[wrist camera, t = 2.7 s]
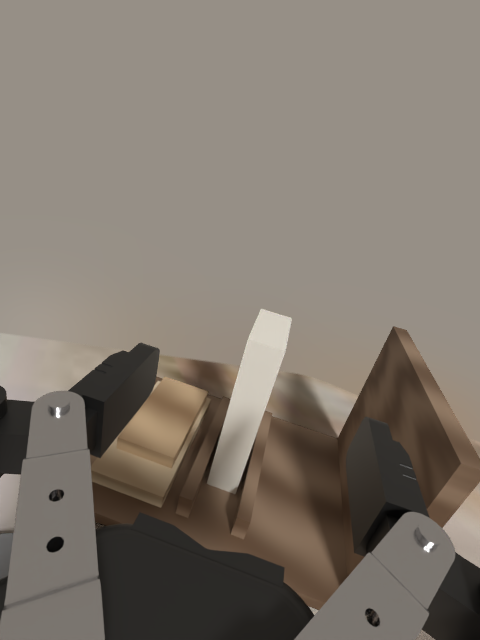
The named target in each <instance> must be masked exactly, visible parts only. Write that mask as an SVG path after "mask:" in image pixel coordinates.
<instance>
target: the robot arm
mask: <svg viewBox="0 0 480 640" xmlns="http://www.w3.org/2000/svg"><path fill="white" fill-rule="evenodd" d="M159 353H160V351H159V349H158V348H155V347H152V346H149V345H146V344H143V343H139V344H138V345H137V346H136V347H134V348H133V349H132V350H131V351H130V352H126V351H121V352H118V353H115V354H113V355H110V356H109V357H108V358H107V359H106V360H104V361H103V362H102V364H100V365H98V366H97V367H96V368H95V370H92V371H91V372H90V373H89V374H88V375H86V376H85V377H84V378H83V379H82V380H80V381H79V382H78V383H77V384H76V385H74V386H73V387H72V388H71V389H70V390H68V391H56V392H51V393H48V394H46V395H43V396H42V397H40V398H39V399H37V400H36V401H35V402H29V401H17V400H7V396H6V391H5V389H4V388H3V387H1V386H0V477H1V476H2V475H3V474H21V478H20V486H19V494H18V502H17V510H16V518H15V526H14V534H13V542H12V550H11V558H10V566H9V574H8V575H7V576H6V577H4V578H2V579H0V640H416V639H417V637H418V635H419V633H420V631H421V629H422V630H424V631H425V632H426V633H428V634H429V635H430V636H432V637H433V638H434V639H436V640H480V568H479V567H477V566H475V565H474V564H472V563H471V562H469V561H468V560H466V559H464V558H463V557H461V556H460V555H458V554H457V553H456V552H455V549H454V546H453V543H452V541H451V540H450V538H449V536H448V535H447V534H446V532H445V531H444V530H443V529H442V528H441V527H440V526H439V525H438V524H437V523H436V522H434V521H433V520H432V519H430V517H429V514H428V511H427V508H426V505H425V502H424V499H423V496H422V493H421V490H420V487H419V484H418V481H416V475H415V472H414V470H413V466H412V463H411V460H410V457H409V454H408V453H407V452H406V450H405V449H404V448H403V446H402V445H401V444H400V442H397V441H394V440H393V439H392V436H391V432H390V429H389V425H388V424H387V423H385V422H381V421H378V420H375V419H372V418H369V417H365V418H364V419H363V420H362V422H361V424H360V426H359V428H358V430H357V432H356V434H355V436H354V438H353V440H352V442H351V444H350V446H349V448H348V451H347V455H346V473H347V484H348V494H349V505H350V515H351V526H352V536H353V546H354V553H356V554H358V555H361V556H364V558H363V560H362V561H361V562H360V563H359V564H358V565H357V567H356V568H355V569H354V570H353V571H352V572H351V574H350V575H349V576H348V577H347V578H346V579H345V581H344V582H343V583H342V584H341V585H340V586H339V588H338V589H337V590H336V591H335V592H334V593H333V595H332V596H331V597H330V598H329V599H328V601H327V602H326V603H325V604H324V605H323V606H322V608H321V609H320V610H319V611H318V612H317V613H316V615H315V616H314V614H313V613H312V611H311V610H310V608H309V607H308V606H307V604H306V603H305V602H304V601H303V599H302V598H301V597H300V596H299V595H298V594H297V593H296V592H295V591H294V590H293V589H292V588H291V587H290V586H288V585H287V584H286V583H284V582H283V581H284V570H285V567H282V566H280V565H277V564H275V563H272V562H269V561H267V560H264V559H261V558H259V557H256V556H254V555H251V554H248V553H239V552H229V551H218V550H210V549H207V548H205V547H203V546H202V545H201V544H199V543H198V542H196V541H195V540H194V539H192V538H191V537H190V536H188V535H187V534H185V533H184V532H183V531H181V530H180V529H179V528H177V527H176V526H174V525H172V524H170V523H167V522H164V521H162V520H159V519H157V518H154V517H151V516H149V515H146V514H143V513H141V512H139V514H138V516H137V518H136V520H135V522H134V523H133V524H128V523H126V524H114V525H108V526H104V527H101V528H98V529H95V518H94V504H93V490H92V476H91V463H90V455H93V456H95V457H98V458H101V457H102V455H103V454H104V453H105V452H106V450H107V449H108V448H109V447H110V445H111V444H112V443H113V442H114V440H115V439H116V438H117V436H118V435H119V434H120V433H121V431H122V430H123V429H124V428H125V426H126V425H127V424H128V423H129V421H130V420H131V419H132V417H133V416H134V415H135V414H136V412H137V411H138V410H139V409H140V407H141V406H142V405H143V404H144V402H145V401H146V400H147V398H148V397H149V396H150V394H151V392H152V390H153V388H154V385H155V381H156V374H157V367H158V361H159Z"/></svg>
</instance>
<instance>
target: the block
mask: <svg viewBox="0 0 480 640" xmlns="http://www.w3.org/2000/svg"><path fill="white" fill-rule="evenodd" d="M291 320H292V318H289V317H286V316H283V315H280V314H276V313H273V312H269V311H267V310H264V309H261V311H260V313H259V315H258V317H257V320H256V322H255V324H254V327H253V329H252V331H251V334H250V336H249V338H248V341H247V345H246V348H245V351H244V355H243V359H242V362H241V365H240V369H239V372H238V376H237V379H236V383H235V386H234V390H233V393H232V397H231V400H230V404H229V407H228V411H227V414H226V418H225V421H224V425H223V428H222V432H221V435H220V439H219V442H218V446H217V449H216V453H215V456H214V460H213V463H212V467H211V470H210V474H209V477H208V481H207V484H209V485H211V486H214V487H217V488H220V489H222V490H225V491H228V492H230V493H233V494H236V491H237V488H238V486H239V483H240V480H241V477H242V474H243V471H244V468H245V466H246V463H247V460H248V457H249V454H250V451H251V448H252V446H253V443H254V440H255V437H256V434H257V431H258V428H259V425H260V423H261V420H262V417H263V414H264V411H265V408H266V405H267V403H268V400H269V397H270V394H271V391H272V388H273V385H274V383H275V380H276V377H277V374H278V371H279V368H280V365H281V362H282V360H283V357H284V354H285V350H286V346H287V340H288V335H289V330H290V325H291Z"/></svg>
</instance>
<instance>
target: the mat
mask: <svg viewBox="0 0 480 640" xmlns="http://www.w3.org/2000/svg"><path fill="white" fill-rule="evenodd" d="M13 534H14V533H5V534H0V579H2V578H4V577H6V576H7V575H8V574H9V566H10V558H11V550H12V542H13Z"/></svg>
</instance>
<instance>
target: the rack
mask: <svg viewBox="0 0 480 640" xmlns="http://www.w3.org/2000/svg"><path fill="white" fill-rule="evenodd" d="M230 400H231V399H229V398H226V397H223V398H222V399H220V398H217V397H214V396H211V395H208V391H206V390H203V389H200V388H197V387H194V386H191V385H188V384H185V383H182V382H179V381H176V380H173V379H170V378H167V377H164V378H163V379H162V378H159V377H156V381H155V385H154V388H153V390H152V392H151V394H150V396H149V397H148V398H147V400H146V401H145V402H144V404H143V405H142V406H141V407H140V409H139V410H138V411H137V412H136V414H135V415H134V416H133V417H132V419H131V420H130V421H129V423H128V424H127V425H126V426H125V428H124V429H123V430H122V431H121V433H120V434H119V435H118V436H117V438H116V439H115V440H114V442H113V443H112V444H111V445H110V447H109V448H108V449H107V450H106V452H105V453H104V454H103V455H102V457H101V458H98V457H95V456H93V455H90V463H91V476H92V490H93V504H94V518H95V522H97V523H100V524H102V525H105V526H108V525H114V524H126V523H128V524H133V523H134V522H135V520H136V518H137V516H138V514H139V512H141V513H143V514H146V515H149V516H151V517H154V518H157V519H159V520H162V521H164V522H167V523H170V524H172V525H174V526H176V527H177V528H179V529H180V530H181V531H183V532H184V533H185V534H187V535H188V536H190V537H191V538H192V539H194V540H195V541H196V542H198V543H199V544H201V545H202V546H203V547H205V548H207V549H210V550H218V551H229V552H239V553H248V554H251V555H254V556H256V557H259V558H261V559H264V560H267V561H269V562H272V563H275V564H277V565H280V566H282V567H285V570H284V581H283V582H284V583H286V584H287V585H288V586H290V587H291V588H292V589H293V590H294V591H295V592H296V593H297V594H298V595H299V596H300V597H301V598H302V599H303V601H304V602H305V603H306V604H307V606H310V607H312V608H315V609H317V610H320V609H321V608H322V606H323V605H324V604H325V603H326V602H327V601H328V599H329V598H330V597H331V596H332V595H333V593H334V592H335V591H336V590H337V589H338V588H339V586H340V585H341V584H342V583H343V582H344V581H345V579H346V578H347V577H348V576H349V575H350V574H351V572H352V571H353V570H354V569H355V568H356V567H357V565H358V564H359V563H360V562H361V561H362V560H363V558H364V556H361V555H358V554H356V553H354V546H353V536H352V526H351V515H350V505H349V494H348V484H347V473H346V455H347V451H348V448H349V446H350V444H351V442H352V440H353V438H354V436H355V434H356V432H357V430H358V428H359V426H360V424H361V422H362V420H363V419H364V418H365V417H369V418H372V419H375V420H378V421H381V422H385V423H387V424H388V425H389V429H390V432H391V436H392V439H393V440H394V441H397V442H400V444H401V445H402V446H403V448H404V449H405V450H406V452H407V453H408V454H409V457H410V460H411V463H412V466H413V470H414V472H415V475H416V481H418V484H419V487H420V490H421V493H422V496H423V499H424V502H425V505H426V508H427V511H428V514H429V517H430V519H432V520H433V521H434V522H436V523H437V524H438V525H439V526H440V527H441V528H443V526H444V525H445V524H446V523H447V521H448V520H449V519H450V518H451V517H452V515H453V514H454V513H455V512H456V510H457V509H458V508H459V507H460V505H461V504H462V503H463V502H464V501H465V499H466V498H467V497H468V496H469V494H470V493H471V492H472V491H473V489H474V488H475V487H476V486H477V485H478V483H479V482H480V458H479V457H478V455H477V453H476V451H475V450H474V448H473V446H472V444H471V443H470V441H469V439H468V437H467V436H466V434H465V432H464V431H463V429H462V427H461V425H460V423H459V421H458V420H457V418H456V416H455V415H454V413H453V411H452V409H451V408H450V406H449V404H448V402H447V400H446V399H445V397H444V395H443V393H442V392H441V390H440V388H439V386H438V385H437V383H436V381H435V380H434V378H433V376H432V374H431V372H430V370H429V369H428V367H427V365H426V363H425V362H424V360H423V358H422V356H421V355H420V353H419V351H418V349H417V348H416V346H415V344H414V342H413V340H412V339H411V337H410V335H409V334H408V332H407V330H404V329H401V328H397V327H393V328H392V330H391V332H390V334H389V336H388V338H387V340H386V342H385V344H384V346H383V348H382V350H381V352H380V354H379V356H378V358H377V361H376V362H375V364H374V366H373V368H372V370H371V373H370V375H369V377H368V379H367V380H366V383H365V385H364V387H363V388H362V391H361V393H360V395H359V397H358V399H357V401H356V403H355V405H354V407H353V409H352V411H351V413H350V415H349V417H348V419H347V421H346V423H345V425H344V427H343V429H342V431H341V433H340V435H339V437H338V439H337V438H334V437H331V436H328V435H325V434H322V433H319V432H317V431H314V430H311V429H308V428H305V427H302V426H299V425H296V424H293V423H290V422H287V421H284V420H281V419H279V418H276V417H273V416H272V413H270V412H267V411H264V414H263V417H262V420H261V423H260V425H259V428H258V431H257V434H256V437H255V440H254V443H253V446H252V448H251V451H250V454H249V457H248V460H247V463H246V466H245V468H244V471H243V474H242V477H241V480H240V483H239V486H238V488H237V491H236V494H233V493H230V492H228V491H225V490H222V489H220V488H217V487H214V486H211V485H209V484H207V481H208V477H209V474H210V470H211V467H212V463H213V460H214V456H215V453H216V449H217V446H218V442H219V439H220V435H221V432H222V428H223V425H224V421H225V418H226V414H227V411H228V407H229V404H230Z"/></svg>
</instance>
